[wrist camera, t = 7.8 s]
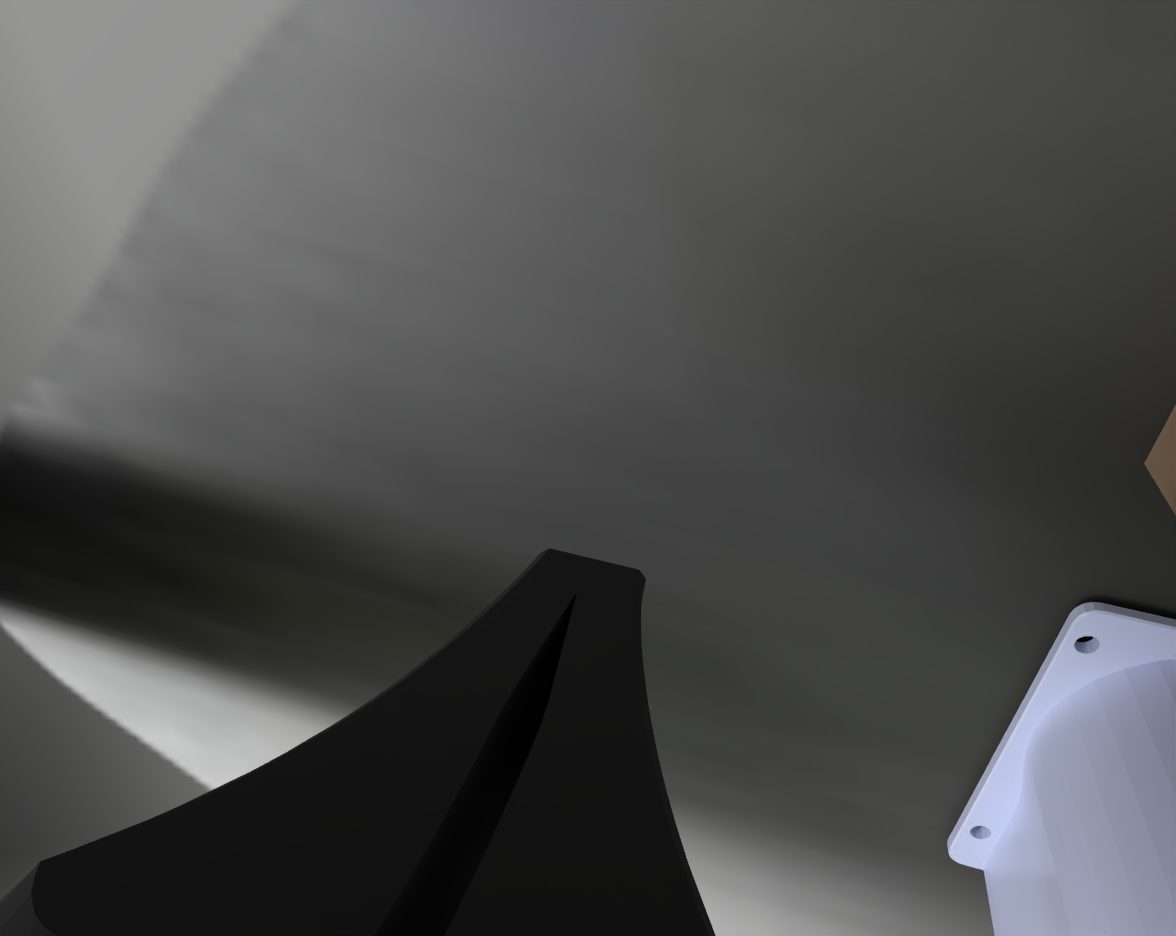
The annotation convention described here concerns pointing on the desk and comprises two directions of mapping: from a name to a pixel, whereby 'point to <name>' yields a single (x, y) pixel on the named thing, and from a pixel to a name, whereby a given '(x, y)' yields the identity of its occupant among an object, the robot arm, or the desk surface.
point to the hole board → (1165, 461)
